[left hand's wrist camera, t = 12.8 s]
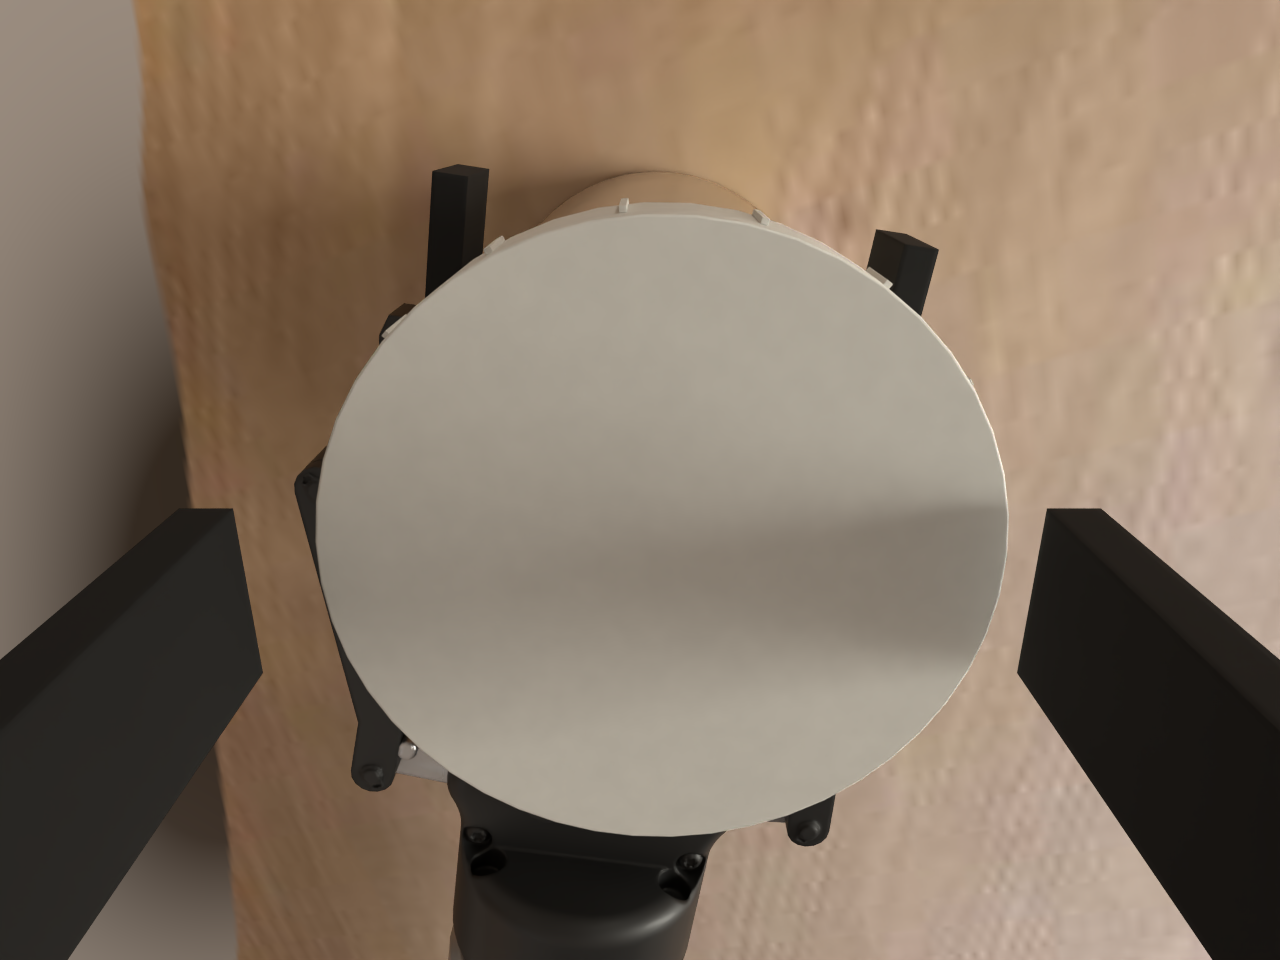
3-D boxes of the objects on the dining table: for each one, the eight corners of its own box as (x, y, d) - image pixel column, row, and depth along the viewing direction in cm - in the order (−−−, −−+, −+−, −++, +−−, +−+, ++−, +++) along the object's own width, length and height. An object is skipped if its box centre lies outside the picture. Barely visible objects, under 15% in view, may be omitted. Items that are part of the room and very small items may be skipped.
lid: (908, 794, 17) (933, 862, 16) (357, 753, 17) (327, 818, 15) (1045, 233, 13) (1097, 249, 12) (330, 171, 13) (288, 179, 11)
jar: (785, 486, 30) (906, 820, 16) (499, 462, 30) (360, 780, 16) (832, 186, 26) (1042, 271, 12) (506, 157, 26) (335, 211, 12)
